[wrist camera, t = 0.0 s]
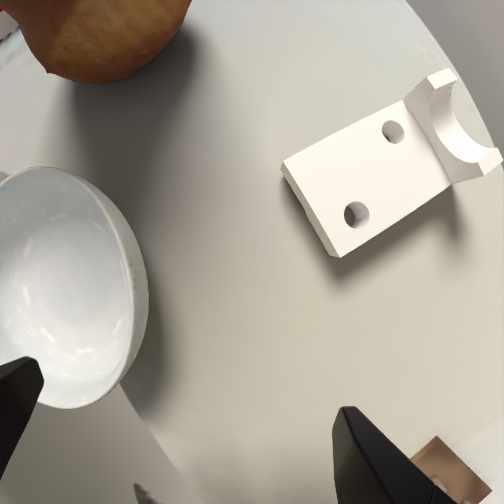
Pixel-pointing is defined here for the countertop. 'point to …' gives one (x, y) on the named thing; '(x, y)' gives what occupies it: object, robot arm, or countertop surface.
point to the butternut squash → (96, 34)
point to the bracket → (386, 165)
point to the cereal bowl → (69, 285)
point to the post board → (450, 473)
